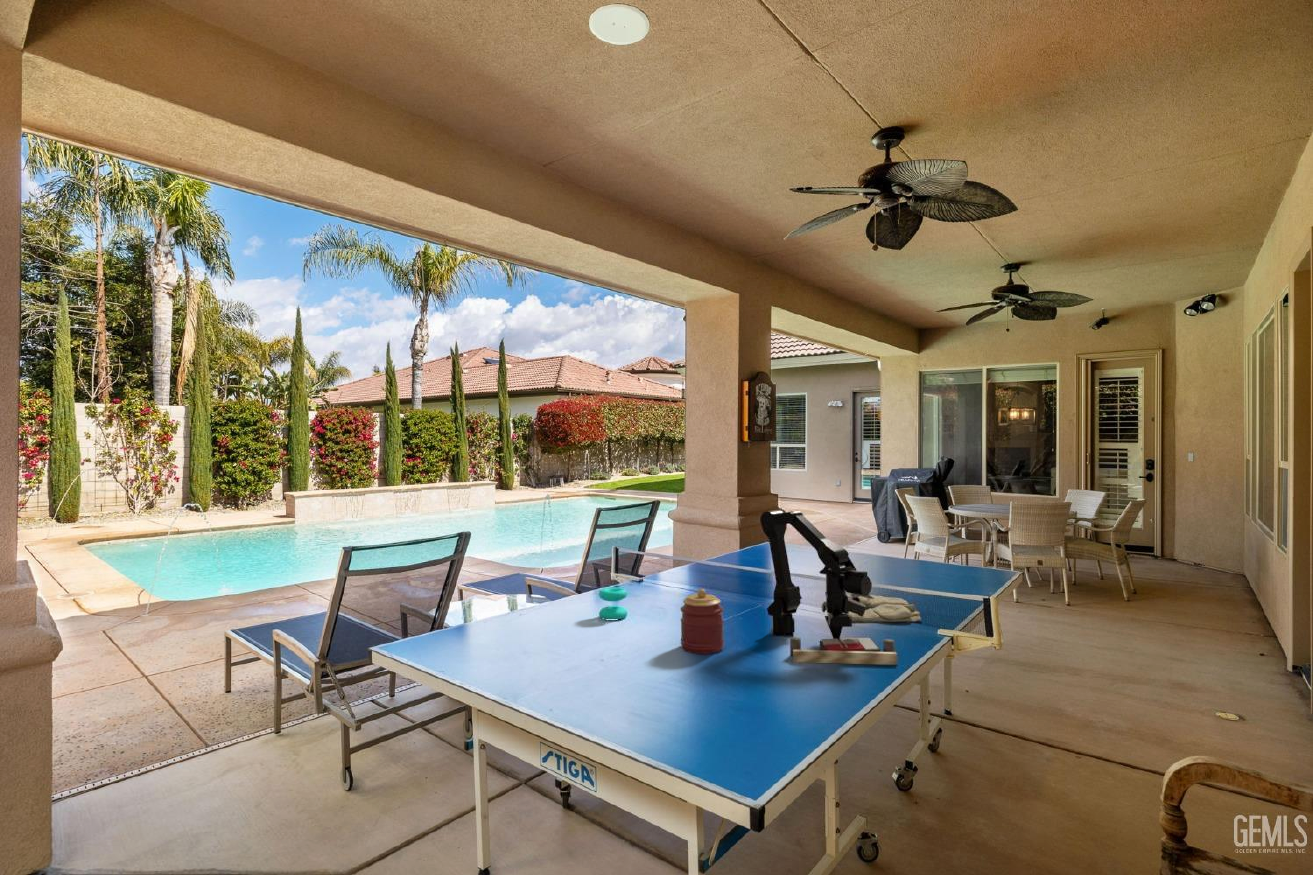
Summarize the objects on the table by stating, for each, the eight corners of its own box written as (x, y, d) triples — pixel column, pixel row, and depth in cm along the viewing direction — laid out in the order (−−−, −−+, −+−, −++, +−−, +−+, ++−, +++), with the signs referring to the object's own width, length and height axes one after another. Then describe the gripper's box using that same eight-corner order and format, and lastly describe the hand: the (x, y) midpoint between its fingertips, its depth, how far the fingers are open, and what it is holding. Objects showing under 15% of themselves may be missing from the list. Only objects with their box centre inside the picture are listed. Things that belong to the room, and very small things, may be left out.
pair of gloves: (835, 602, 253) (835, 589, 253) (904, 604, 249) (904, 590, 249) (847, 624, 223) (847, 608, 223) (926, 626, 219) (926, 610, 219)
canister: (732, 647, 197) (732, 588, 198) (705, 657, 188) (705, 596, 188) (699, 638, 206) (698, 582, 206) (671, 648, 197) (671, 589, 197)
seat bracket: (791, 661, 184) (791, 644, 184) (789, 654, 190) (789, 636, 190) (899, 664, 180) (898, 646, 180) (893, 656, 187) (892, 639, 187)
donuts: (631, 590, 230) (604, 593, 226) (631, 619, 230) (604, 622, 226) (620, 585, 239) (594, 588, 235) (621, 612, 239) (595, 616, 235)
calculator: (819, 637, 195) (870, 635, 194) (820, 652, 195) (871, 650, 194) (826, 649, 184) (880, 647, 183) (827, 664, 184) (881, 662, 183)
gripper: (870, 598, 186) (870, 653, 186) (857, 583, 205) (858, 634, 205) (829, 597, 187) (830, 652, 187) (821, 583, 206) (821, 633, 206)
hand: (836, 642), depth 196 cm, fingers closed
